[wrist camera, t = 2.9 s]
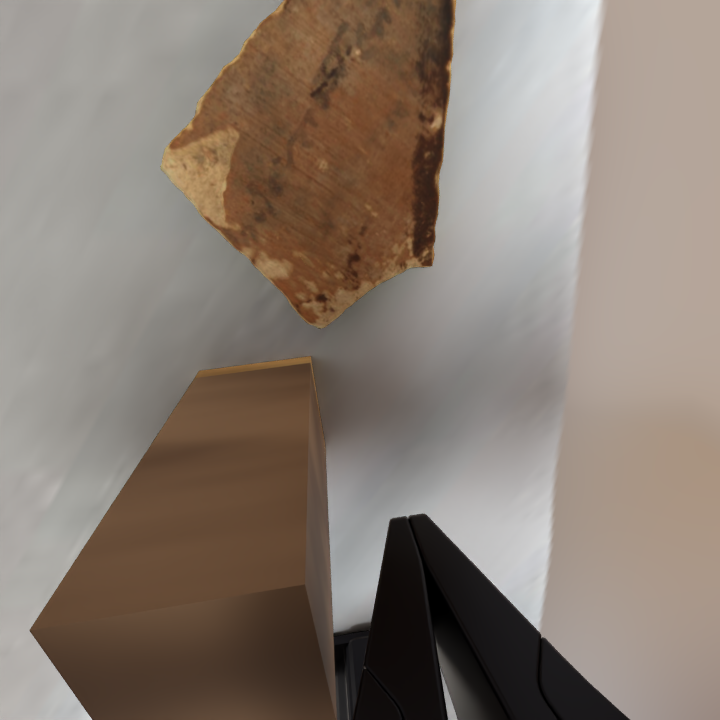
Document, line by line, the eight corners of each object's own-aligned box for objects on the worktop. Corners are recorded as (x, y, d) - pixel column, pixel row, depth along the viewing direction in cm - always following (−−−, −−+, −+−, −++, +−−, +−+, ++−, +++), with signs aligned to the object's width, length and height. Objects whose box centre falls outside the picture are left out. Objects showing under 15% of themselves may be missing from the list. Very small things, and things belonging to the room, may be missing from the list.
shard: (448, -156, 10) (476, -230, 8) (584, 118, 12) (625, 106, 11) (162, 161, 12) (136, 156, 10) (333, 337, 14) (336, 355, 13)
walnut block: (325, 446, 16) (337, 724, 7) (225, 460, 15) (124, 765, 7) (310, 356, 14) (305, 583, 6) (199, 370, 14) (29, 630, 6)
